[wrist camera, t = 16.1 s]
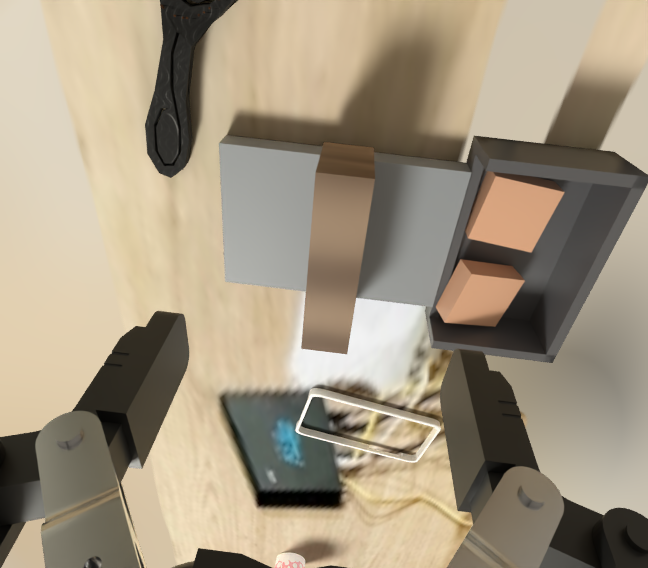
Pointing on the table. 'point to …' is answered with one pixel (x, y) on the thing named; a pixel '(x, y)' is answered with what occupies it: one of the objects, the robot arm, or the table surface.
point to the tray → (542, 245)
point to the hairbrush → (177, 81)
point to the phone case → (374, 407)
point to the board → (296, 216)
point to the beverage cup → (290, 561)
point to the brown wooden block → (337, 244)
